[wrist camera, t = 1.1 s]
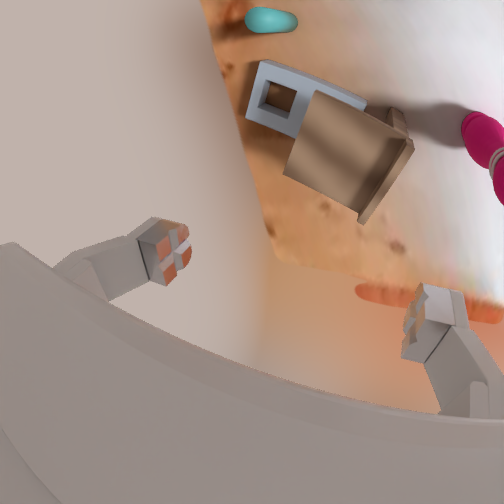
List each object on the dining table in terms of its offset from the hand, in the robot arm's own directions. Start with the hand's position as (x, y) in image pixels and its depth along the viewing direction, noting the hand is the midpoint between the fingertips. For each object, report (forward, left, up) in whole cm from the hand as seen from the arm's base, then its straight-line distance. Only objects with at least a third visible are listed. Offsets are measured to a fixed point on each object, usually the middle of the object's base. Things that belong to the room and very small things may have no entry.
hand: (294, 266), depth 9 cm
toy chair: (+8, +1, -36) cm, 37 cm away
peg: (-4, -14, -36) cm, 39 cm away
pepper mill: (-3, +18, -36) cm, 41 cm away
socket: (+8, -7, -36) cm, 38 cm away
